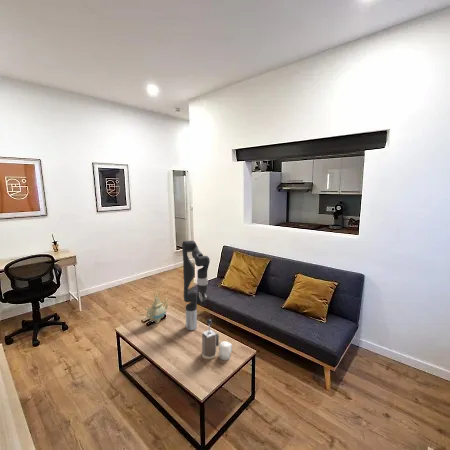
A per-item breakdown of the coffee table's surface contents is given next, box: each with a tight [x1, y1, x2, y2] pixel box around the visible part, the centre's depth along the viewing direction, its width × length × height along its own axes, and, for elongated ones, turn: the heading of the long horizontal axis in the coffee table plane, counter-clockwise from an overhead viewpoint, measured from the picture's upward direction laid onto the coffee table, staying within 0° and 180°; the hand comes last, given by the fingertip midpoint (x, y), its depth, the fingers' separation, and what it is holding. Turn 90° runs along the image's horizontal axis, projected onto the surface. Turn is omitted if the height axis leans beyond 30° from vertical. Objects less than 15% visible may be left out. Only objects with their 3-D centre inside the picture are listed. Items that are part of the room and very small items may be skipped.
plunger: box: [206, 318, 213, 334], centre depth 177 cm, size 4×4×17 cm
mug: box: [218, 340, 233, 361], centre depth 178 cm, size 8×10×9 cm
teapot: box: [144, 290, 169, 324], centre depth 218 cm, size 24×12×30 cm, turn 144°
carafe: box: [201, 328, 220, 360], centre depth 179 cm, size 11×13×16 cm
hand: (202, 305), depth 183 cm, fingers closed
